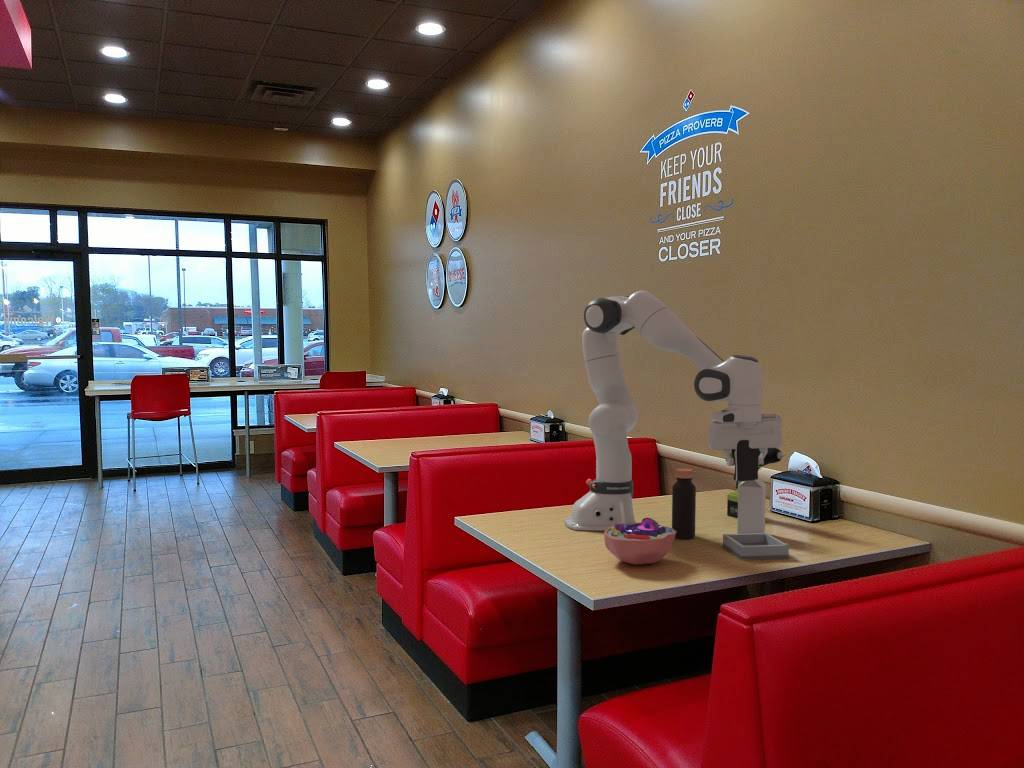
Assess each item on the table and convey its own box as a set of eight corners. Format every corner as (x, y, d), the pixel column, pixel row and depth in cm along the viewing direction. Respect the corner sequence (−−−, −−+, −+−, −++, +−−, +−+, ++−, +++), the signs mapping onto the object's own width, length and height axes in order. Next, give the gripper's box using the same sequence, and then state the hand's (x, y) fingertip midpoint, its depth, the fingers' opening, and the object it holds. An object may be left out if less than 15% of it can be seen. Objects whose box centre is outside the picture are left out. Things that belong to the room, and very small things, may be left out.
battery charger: (750, 478, 208) (750, 437, 208) (759, 480, 205) (759, 438, 204) (729, 480, 206) (729, 438, 205) (738, 482, 202) (737, 440, 202)
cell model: (589, 559, 200) (589, 517, 200) (648, 548, 210) (648, 508, 209) (629, 576, 186) (629, 531, 185) (690, 564, 195) (690, 521, 195)
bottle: (682, 540, 218) (683, 472, 217) (666, 535, 224) (667, 468, 223) (700, 537, 221) (701, 470, 220) (684, 532, 227) (685, 467, 226)
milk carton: (764, 533, 227) (766, 470, 226) (762, 538, 220) (763, 474, 219) (740, 530, 230) (741, 469, 229) (737, 536, 223) (738, 472, 222)
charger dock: (741, 560, 199) (742, 545, 199) (722, 546, 212) (722, 533, 212) (788, 558, 201) (789, 544, 200) (767, 545, 214) (767, 531, 213)
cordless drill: (791, 526, 234) (793, 447, 233) (775, 529, 231) (777, 448, 230) (737, 511, 255) (738, 438, 253) (721, 513, 251) (722, 439, 250)
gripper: (776, 412, 209) (776, 461, 209) (704, 414, 207) (705, 464, 207) (786, 414, 202) (786, 465, 203) (713, 416, 200) (713, 468, 201)
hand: (745, 465), depth 205 cm, fingers closed on battery charger, 7 cm apart
